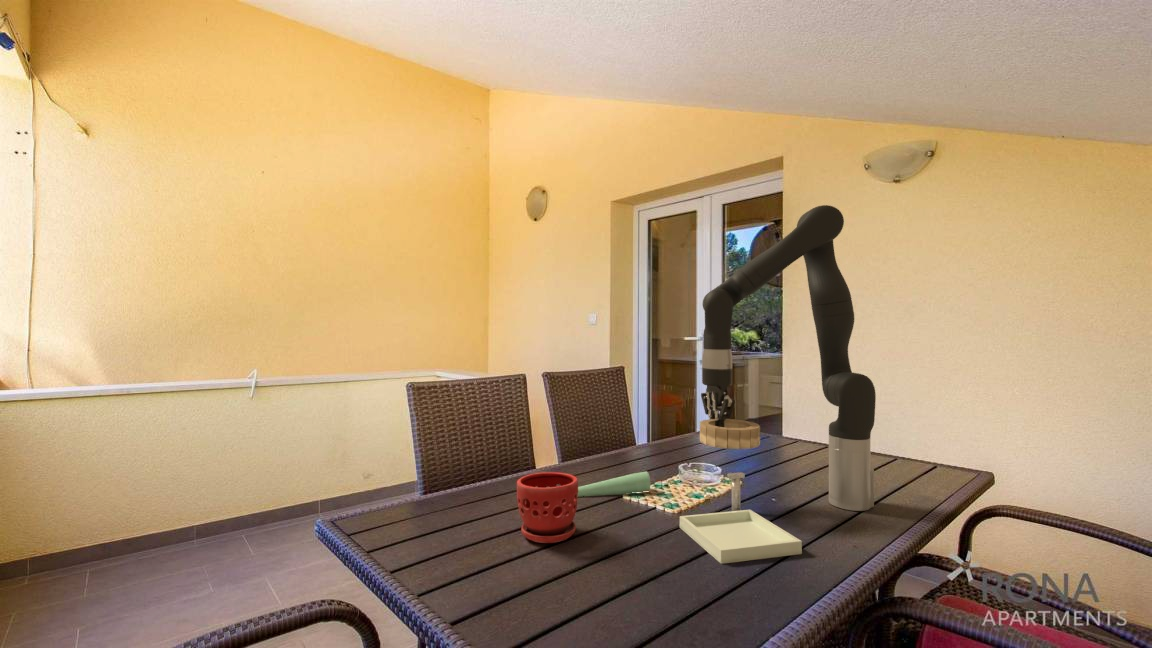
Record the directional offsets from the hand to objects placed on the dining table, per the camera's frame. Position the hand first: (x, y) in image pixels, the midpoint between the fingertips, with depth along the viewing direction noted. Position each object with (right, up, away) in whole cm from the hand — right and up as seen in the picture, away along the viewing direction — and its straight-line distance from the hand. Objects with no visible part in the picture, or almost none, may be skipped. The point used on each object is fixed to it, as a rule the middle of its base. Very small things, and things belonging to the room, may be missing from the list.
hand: (717, 433), depth 130 cm
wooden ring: (+1, -1, -6) cm, 6 cm away
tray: (-3, -17, -25) cm, 30 cm away
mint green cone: (-30, -18, +4) cm, 35 cm away
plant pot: (-43, -17, -22) cm, 51 cm away
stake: (+2, -17, -8) cm, 19 cm away
